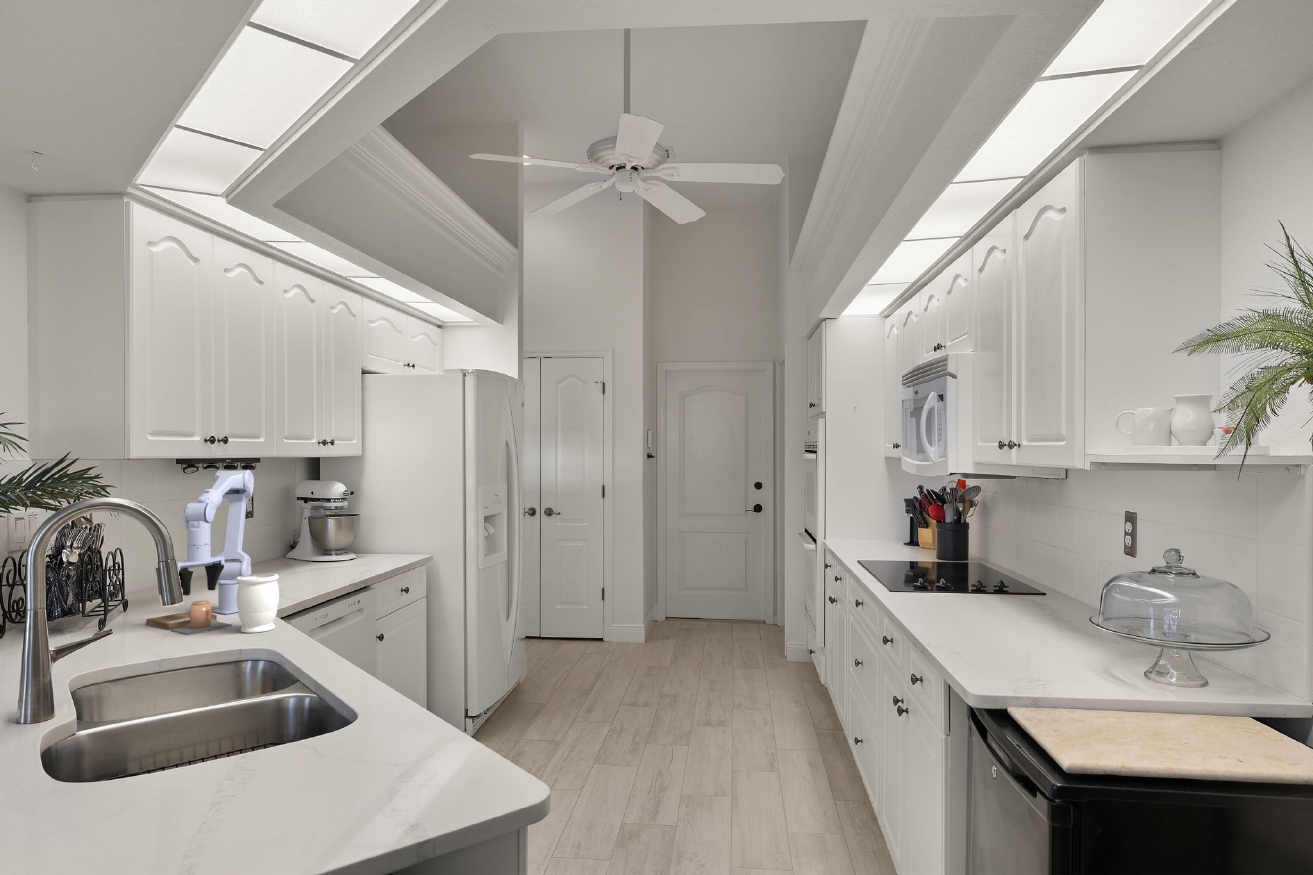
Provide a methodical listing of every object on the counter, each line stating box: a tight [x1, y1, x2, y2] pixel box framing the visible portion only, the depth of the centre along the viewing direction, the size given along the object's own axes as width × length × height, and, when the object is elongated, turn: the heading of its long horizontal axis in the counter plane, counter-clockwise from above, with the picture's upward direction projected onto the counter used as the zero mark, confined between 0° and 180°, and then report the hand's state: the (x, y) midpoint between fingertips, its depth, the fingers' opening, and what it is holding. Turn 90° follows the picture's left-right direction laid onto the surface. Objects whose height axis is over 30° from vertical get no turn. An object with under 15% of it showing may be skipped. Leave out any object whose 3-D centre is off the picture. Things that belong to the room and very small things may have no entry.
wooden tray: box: [145, 610, 218, 631], centre depth 216 cm, size 13×13×2 cm
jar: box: [237, 573, 280, 634], centre depth 206 cm, size 11×10×15 cm
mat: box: [170, 620, 233, 636], centre depth 209 cm, size 12×9×1 cm
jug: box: [189, 600, 213, 629], centre depth 209 cm, size 6×5×7 cm
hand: (199, 592), depth 210 cm, fingers open, 7 cm apart
